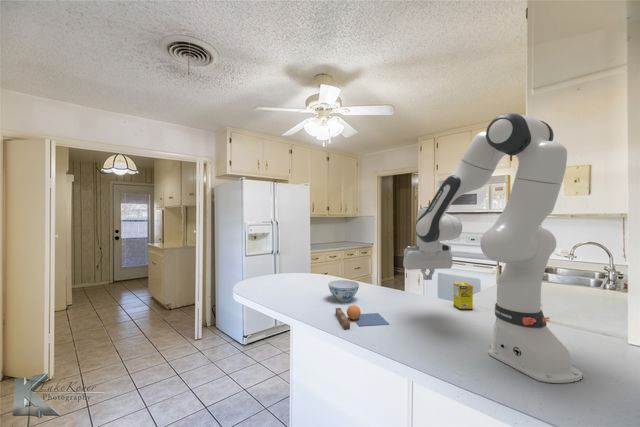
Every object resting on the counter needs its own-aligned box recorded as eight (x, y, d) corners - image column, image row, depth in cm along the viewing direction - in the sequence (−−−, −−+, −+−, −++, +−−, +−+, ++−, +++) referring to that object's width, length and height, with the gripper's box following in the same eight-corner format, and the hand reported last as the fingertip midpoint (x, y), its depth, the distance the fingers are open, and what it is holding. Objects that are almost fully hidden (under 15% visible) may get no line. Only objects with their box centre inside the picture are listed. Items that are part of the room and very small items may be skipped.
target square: (389, 324, 110) (389, 324, 110) (358, 326, 108) (358, 325, 108) (378, 313, 122) (378, 313, 122) (350, 314, 120) (350, 314, 120)
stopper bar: (349, 329, 105) (349, 322, 105) (344, 329, 105) (344, 322, 105) (340, 313, 121) (340, 307, 121) (335, 314, 121) (335, 308, 121)
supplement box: (473, 310, 126) (473, 285, 126) (459, 310, 126) (459, 285, 126) (466, 306, 132) (466, 282, 132) (453, 305, 132) (453, 282, 132)
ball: (347, 307, 112) (348, 322, 112) (361, 306, 113) (362, 321, 113) (345, 303, 118) (346, 317, 118) (358, 303, 118) (359, 316, 118)
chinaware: (358, 295, 148) (358, 280, 148) (359, 305, 133) (359, 288, 133) (329, 294, 149) (329, 279, 149) (327, 303, 134) (327, 287, 134)
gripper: (407, 247, 114) (407, 282, 114) (454, 246, 117) (454, 280, 117) (400, 245, 120) (400, 278, 120) (445, 244, 123) (445, 277, 123)
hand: (427, 279), depth 119 cm, fingers closed
